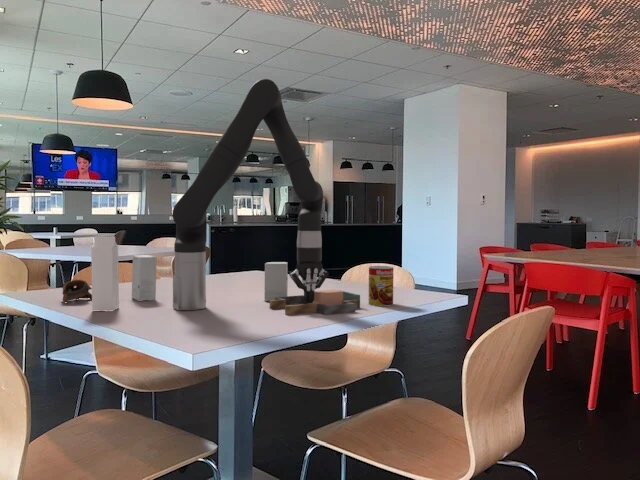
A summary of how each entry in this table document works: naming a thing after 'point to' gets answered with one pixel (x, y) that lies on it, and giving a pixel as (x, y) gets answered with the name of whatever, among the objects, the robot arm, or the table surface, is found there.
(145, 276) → the skincare box
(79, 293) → the brown dome piece
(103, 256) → the milk
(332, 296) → the block
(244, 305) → the table surface
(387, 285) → the canned food
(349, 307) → the channel
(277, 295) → the supplement box
